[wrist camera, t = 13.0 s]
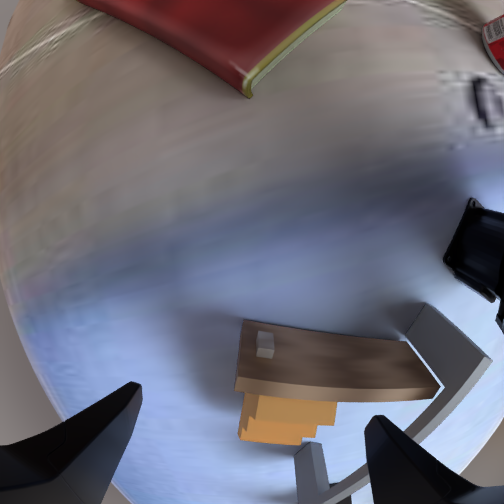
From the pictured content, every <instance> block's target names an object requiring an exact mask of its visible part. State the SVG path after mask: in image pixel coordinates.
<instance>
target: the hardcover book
mask: <svg viewBox="0 0 504 504" xmlns="http://www.w3.org/2000/svg"><path fill="white" fill-rule="evenodd" d="M76 1H78V2H80V3H82V4H85V5H87V6H90V7H92V8H95V9H97V10H100V11H102V12H104V13H107V14H109V15H111V16H113V17H115V18H118V19H120V20H122V21H124V22H126V23H128V24H130V25H132V26H134V27H136V28H138V29H140V30H142V31H144V32H146V33H148V34H150V35H152V36H153V37H155V38H157V39H159V40H161V41H162V42H164V43H166V44H168V45H170V46H171V47H173V48H175V49H176V50H178V51H180V52H181V53H183V54H185V55H186V56H188V57H190V58H191V59H193V60H194V61H196V62H197V63H199V64H201V65H202V66H204V67H205V68H207V69H208V70H210V71H211V72H213V73H214V74H216V75H217V76H219V77H220V78H222V79H223V80H224V81H226V82H227V83H229V84H230V85H231V86H233V87H234V88H236V89H237V90H238V91H240V92H241V93H243V94H244V95H245V96H247V97H248V98H249V99H250V98H251V97H252V96H253V94H252V92H251V89H252V88H253V87H254V86H255V85H256V84H257V83H258V82H259V81H260V80H261V79H262V78H263V77H264V76H265V75H266V74H267V73H268V72H269V71H270V70H272V69H273V68H274V67H275V66H276V65H277V64H278V63H279V62H280V61H281V60H282V59H283V58H284V57H285V56H287V55H288V54H289V53H290V52H291V51H292V50H293V49H294V48H296V47H297V46H298V45H299V44H300V43H301V42H302V41H304V40H305V39H306V38H307V37H308V36H310V35H311V34H312V33H313V32H314V31H316V30H317V29H318V28H319V27H320V26H322V25H323V24H324V23H326V22H327V21H328V20H329V19H331V18H332V17H333V16H335V15H336V14H337V13H338V12H340V11H341V10H342V8H343V6H344V4H345V3H346V1H347V0H76Z"/></svg>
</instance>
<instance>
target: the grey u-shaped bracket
mask: <svg viewBox="0 0 504 504" xmlns="http://www.w3.org/2000/svg"><path fill="white" fill-rule="evenodd" d="M405 336H406V338H407V339H408V340H409V341H410V343H411V344H412V345H413V346H414V348H415V349H416V350H417V351H418V353H419V354H420V355H421V356H422V358H423V359H424V360H425V361H426V363H427V364H428V365H429V367H430V368H431V369H432V371H433V372H434V373H435V375H436V376H437V377H438V379H439V380H440V381H441V383H442V384H443V385H444V387H445V388H444V389H443V391H442V392H441V393H440V394H439V395H438V396H437V398H436V399H435V400H434V401H433V402H432V403H431V404H430V405H429V406H428V407H427V409H426V410H425V411H424V412H423V413H422V414H421V415H420V416H419V417H418V418H417V419H416V420H415V421H414V422H413V423H412V424H411V425H410V426H409V427H408V428H407V429H406V430H405V431H403V432H404V433H405V434H407V435H408V436H409V437H410V438H411V439H413V440H414V441H415V442H416V443H417V444H420V443H421V442H422V441H423V440H424V439H425V438H426V437H427V436H428V435H429V434H431V433H432V432H433V431H434V430H435V429H436V428H437V427H438V426H439V425H440V424H441V423H442V422H443V421H444V420H445V419H446V418H447V417H448V415H449V414H450V413H451V412H452V411H453V410H454V409H455V408H456V407H457V406H458V405H459V403H460V402H461V401H462V400H463V399H464V398H465V396H466V395H467V394H468V393H469V392H470V390H471V389H472V388H473V387H474V386H475V384H476V383H477V382H478V380H479V379H480V378H481V377H482V375H483V374H484V373H485V371H486V370H487V368H488V367H489V366H490V364H491V363H492V360H491V359H490V358H489V357H488V356H487V355H486V354H485V353H484V352H483V351H482V350H481V349H480V348H479V347H478V346H477V345H476V344H475V343H474V342H473V341H472V340H471V339H470V338H469V337H467V336H466V335H465V334H464V333H463V332H462V331H461V330H460V329H459V328H458V327H457V326H455V325H454V324H453V323H452V322H451V321H450V320H449V319H448V318H446V317H445V316H444V315H443V314H442V313H441V312H440V311H438V310H437V309H436V308H434V307H433V306H431V305H429V304H428V303H426V304H425V306H424V307H423V309H422V310H421V312H420V314H419V315H418V317H417V318H416V320H415V321H414V323H413V324H412V326H411V327H410V329H409V330H408V331H407V333H406V334H405ZM294 464H295V475H296V485H297V497H298V504H336V503H337V502H339V501H341V500H343V499H344V498H346V497H348V496H349V495H351V494H353V493H354V492H356V491H357V490H359V489H361V488H362V487H364V486H365V485H367V484H368V483H370V477H369V472H368V466H367V463H366V464H364V465H363V466H362V467H360V468H359V469H358V470H356V471H355V472H354V473H352V474H351V475H349V476H348V477H346V478H345V479H344V480H342V481H341V482H339V483H338V484H336V485H335V486H333V487H331V488H330V486H329V481H328V475H327V470H326V465H325V459H324V454H323V449H322V444H320V443H314V442H309V443H308V444H307V445H306V446H305V447H304V448H303V449H301V450H300V451H299V452H298V453H297V454H295V455H294Z"/></svg>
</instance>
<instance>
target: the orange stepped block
mask: <svg viewBox="0 0 504 504" xmlns="http://www.w3.org/2000/svg"><path fill="white" fill-rule="evenodd" d="M336 408H337V402H330V401H313V400H300V399H289V398H280V397H271V396H264V395H256V394H250V393H245V395H244V401H243V406H242V412H241V417H240V423H239V429H238V436H239V439H240V440H244V441H252V442H261V443H271V444H284V445H301V441H302V437H308V438H315V435H316V430H317V425H329V426H334V422H335V415H336Z"/></svg>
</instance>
